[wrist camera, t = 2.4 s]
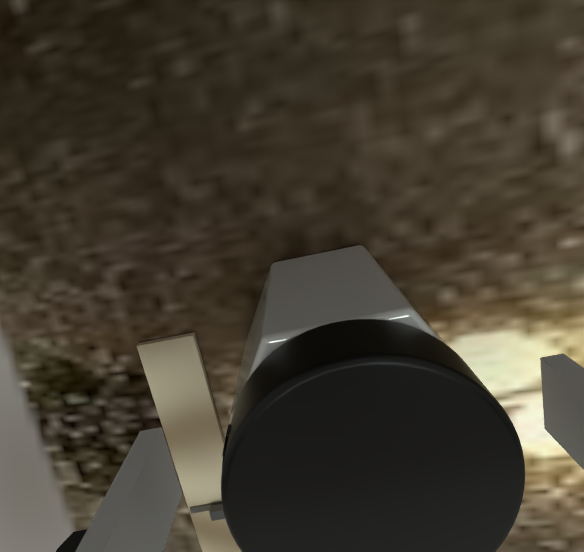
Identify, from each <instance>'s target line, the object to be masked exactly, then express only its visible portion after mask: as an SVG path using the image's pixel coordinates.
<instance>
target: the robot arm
mask: <svg viewBox="0 0 584 552" xmlns="http://www.w3.org/2000/svg"><path fill="white" fill-rule="evenodd" d="M540 360H541V376H542V392H543V409H544V425H545V429H546V430H547V432H548V433H549V434H550V435H551V436H552V437H553V438H554V439H555V440H556V441H557V442H558V443H559V444H560V445H561V446H562V447H563V448H564V449H565V450H566V451H567V453H568V454H569V455H570V456H571V457H572V458H573V459H574V460H575V461H576V462H577V463H578V464H579V465H580V466H581V467H582V468H583V469H584V368H583V367H581V366H580V365H579V364H577V363H576V362H574V361H573V360H572V359H570V358H569V357H567V356H566V355H565V354H558V355H553V356H547V357H542V358H540ZM181 494H182V492H181V488H180V485H179V482H178V479H177V476H176V472H175V469H174V466H173V463H172V460H171V456H170V453H169V450H168V447H167V444H166V440H165V437H164V434H163V431H162V428H156V429H150V430H145V431H140V433H139V434H138V436H137V438H136V440H135V442H134V444H133V446H132V447H131V449H130V451H129V453H128V455H127V457H126V459H125V460H124V462H123V464H122V466H121V468H120V470H119V472H118V473H117V475H116V477H115V479H114V481H113V483H112V485H111V486H110V488H109V490H108V492H107V494H106V496H105V498H104V499H103V501H102V503H101V505H100V507H99V509H98V511H97V513H96V514H95V516H94V518H93V520H92V522H91V524H90V526H89V527H88V529H87V530H81V531H76V532H73V533H72V534H71V535H70V536H69V537H68V538H67V540H66V541H64V542H63V544H62V545H61V546H60V547H59V548H58V549H57V551H56V552H163V551H164V548H165V545H166V542H167V539H168V536H169V532H170V529H171V526H172V523H173V520H174V516H175V513H176V510H177V507H178V504H179V501H180V497H181Z"/></svg>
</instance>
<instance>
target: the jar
mask: <svg viewBox="0 0 584 552" xmlns="http://www.w3.org/2000/svg"><path fill="white" fill-rule="evenodd" d="M222 457H223V460H222V475H221V499H222V506H223V512H224V515H225V519H226V522H227V525H228V527H229V530H230V532H231V535H232V536H233V538H234V540H235V542H236V544H237V545H238V547H239V548H240V550H241V551H242V552H495V551H496V550H497V549H498V548H499V547H500V545H501V544H502V542H503V541H504V540H505V538H506V537H507V535H508V533H509V531H510V530H511V528H512V526H513V524H514V522H515V519H516V517H517V514H518V512H519V508H520V505H521V502H522V497H523V491H524V484H525V463H524V456H523V451H522V447H521V444H520V440H519V437H518V435H517V432H516V430H515V428H514V426H513V423H512V422H511V420H510V418H509V416H508V415H507V413H506V412H505V410H504V409H503V407H502V406H501V405H500V404H499V402H498V401H497V400H496V399H495V398H494V396H493V395H492V394H491V393H490V392H489V390H488V389H487V388H486V387H485V386H484V385H483V383H482V382H481V381H480V380H479V379H478V377H477V376H476V375H475V374H474V373H473V371H472V370H471V369H470V368H469V367H468V365H467V364H466V363H465V362H464V361H463V359H462V358H461V357H460V356H459V355H458V354H457V353H456V352H454V351H453V350H452V349H451V348H450V347H449V346H448V345H447V344H446V343H445V341H444V340H443V339H442V338H441V337H440V335H439V334H438V333H437V332H436V330H435V329H434V328H433V327H432V326H431V324H430V323H429V322H428V321H427V320H426V318H425V317H424V316H423V315H422V313H421V312H420V311H419V310H418V309H417V307H416V306H415V305H414V304H413V303H412V302H411V300H410V299H409V298H408V297H407V296H406V295H405V293H404V292H403V291H402V290H401V289H400V288H399V286H398V285H397V284H396V283H395V282H394V281H393V279H392V278H391V277H390V276H389V275H388V274H387V273H386V271H385V270H384V269H383V268H382V267H381V266H380V264H379V263H378V262H377V261H376V260H375V259H374V257H373V256H372V255H371V254H370V253H369V252H368V250H367V249H366V248H365V247H364V246H362V245H357V246H353V247H348V248H343V249H338V250H333V251H328V252H323V253H318V254H313V255H308V256H303V257H298V258H293V259H288V260H283V261H278V262H274V263H273V264H272V265H271V267H270V270H269V273H268V276H267V279H266V282H265V285H264V288H263V291H262V294H261V297H260V300H259V303H258V306H257V309H256V312H255V315H254V318H253V321H252V324H251V327H250V330H249V333H248V336H247V339H246V343H245V348H244V353H243V358H242V362H241V367H240V372H239V377H238V382H237V386H236V391H235V396H234V401H233V405H232V410H231V415H230V420H229V424H228V429H227V434H226V439H225V443H224V448H223V453H222Z"/></svg>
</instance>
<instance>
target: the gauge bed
mask: <svg viewBox="0 0 584 552" xmlns="http://www.w3.org/2000/svg"><path fill="white" fill-rule="evenodd" d="M137 349H138V352H139V355H140V358H141V362H142V365H143V368H144V371H145V374H146V377H147V380H148V383H149V386H150V390H151V393H152V396H153V399H154V402H155V405H156V408H157V411H158V415H159V418H160V421H161V424H162V427H163V430H164V433H165V436H166V439H167V443H168V446H169V449H170V452H171V455H172V458H173V461H174V464H175V468H176V471H177V474H178V477H179V480H180V483H181V486H182V489H183V493H184V496H185V499H186V502H187V505H188V508H189V511H190V514H191V517H192V521H193V524H194V527H195V530H196V533H197V536H198V539H199V542H200V546H201V549H202V552H242V551H241V550H240V548H239V547H238V545H237V544H236V542H235V540H234V538H233V536H232V535H231V532H230V530H229V527H228V525H227V522H226V519H221V520H215V521H212V520H211V517H210V514H209V511H210V506H211V505H217V504H222V499H221V475H222V460H223V457H222V453H223V448H224V443H225V439H224V435H223V432H222V428H221V424H220V421H219V417H218V414H217V410H216V407H215V403H214V399H213V396H212V392H211V389H210V385H209V381H208V378H207V374H206V371H205V367H204V364H203V360H202V356H201V353H200V349H199V346H198V342H197V338H196V335H195V332H193V333H188V334H183V335H178V336H172V337H167V338H162V339H157V340H151V341H146V342H141V343H139V344H138V345H137Z"/></svg>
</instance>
